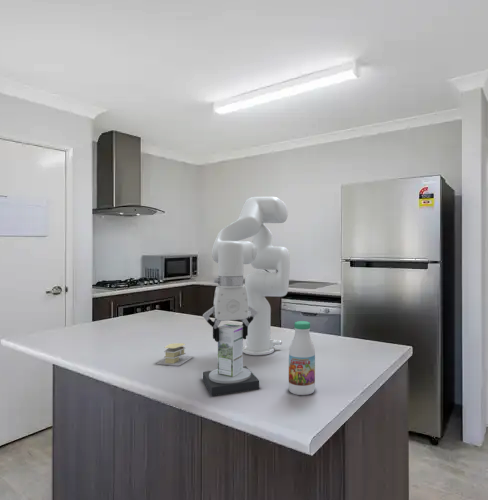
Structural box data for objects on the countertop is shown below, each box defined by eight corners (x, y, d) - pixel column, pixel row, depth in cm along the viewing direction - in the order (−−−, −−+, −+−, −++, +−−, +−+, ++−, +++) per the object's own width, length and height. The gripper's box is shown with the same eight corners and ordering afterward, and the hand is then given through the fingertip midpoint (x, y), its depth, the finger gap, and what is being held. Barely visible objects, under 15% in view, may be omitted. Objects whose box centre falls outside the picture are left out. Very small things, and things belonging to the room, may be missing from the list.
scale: (246, 373, 121) (247, 363, 121) (260, 388, 108) (260, 377, 108) (202, 379, 115) (202, 369, 115) (211, 396, 102) (211, 384, 102)
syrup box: (243, 371, 113) (244, 324, 113) (232, 377, 108) (233, 328, 108) (228, 368, 116) (228, 322, 115) (216, 374, 110) (217, 326, 110)
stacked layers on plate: (179, 365, 128) (179, 350, 128) (155, 364, 130) (155, 348, 130) (192, 357, 138) (192, 342, 138) (170, 355, 140) (171, 341, 139)
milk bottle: (287, 385, 111) (288, 319, 110) (313, 385, 111) (313, 319, 111) (289, 396, 103) (290, 325, 103) (316, 395, 104) (317, 324, 103)
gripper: (204, 284, 104) (203, 345, 105) (262, 282, 111) (261, 339, 112) (199, 281, 111) (199, 339, 111) (254, 279, 118) (254, 334, 118)
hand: (230, 339), depth 111 cm, fingers closed on syrup box, 7 cm apart
